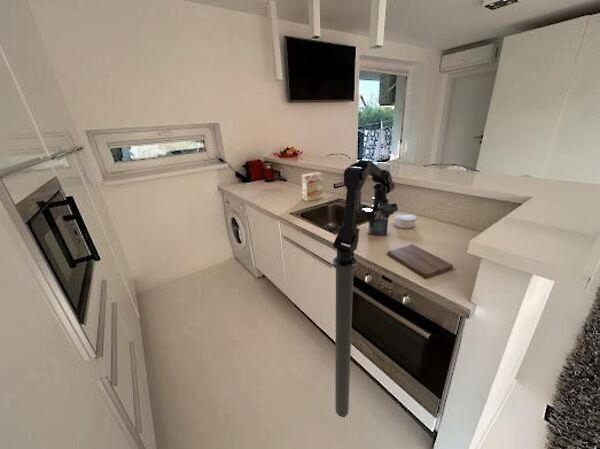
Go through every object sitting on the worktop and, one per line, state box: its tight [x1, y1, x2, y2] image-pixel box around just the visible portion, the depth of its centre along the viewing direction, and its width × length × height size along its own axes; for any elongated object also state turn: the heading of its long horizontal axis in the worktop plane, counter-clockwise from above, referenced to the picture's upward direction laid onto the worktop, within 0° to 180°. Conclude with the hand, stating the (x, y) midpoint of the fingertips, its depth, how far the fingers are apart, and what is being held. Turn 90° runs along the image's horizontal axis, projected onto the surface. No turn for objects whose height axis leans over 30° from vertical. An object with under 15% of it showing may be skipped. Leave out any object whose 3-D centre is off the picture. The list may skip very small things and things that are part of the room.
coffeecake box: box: [301, 171, 324, 202], centre depth 189 cm, size 15×7×20 cm, turn 120°
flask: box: [367, 213, 389, 237], centre depth 124 cm, size 9×3×11 cm, turn 71°
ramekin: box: [393, 212, 417, 229], centre depth 134 cm, size 11×11×5 cm
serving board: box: [387, 244, 454, 279], centre depth 100 cm, size 14×20×2 cm
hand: (378, 226), depth 125 cm, fingers open, 7 cm apart
